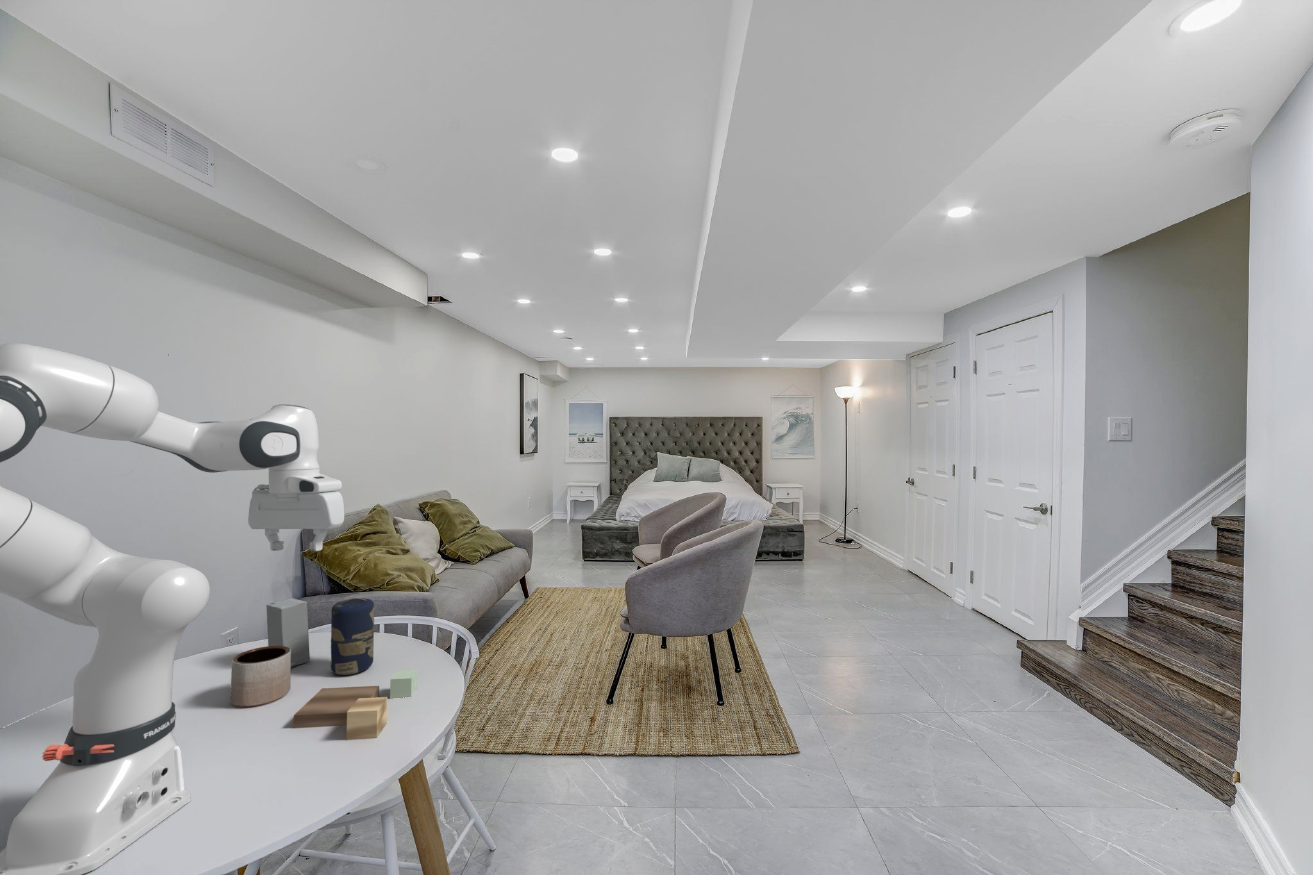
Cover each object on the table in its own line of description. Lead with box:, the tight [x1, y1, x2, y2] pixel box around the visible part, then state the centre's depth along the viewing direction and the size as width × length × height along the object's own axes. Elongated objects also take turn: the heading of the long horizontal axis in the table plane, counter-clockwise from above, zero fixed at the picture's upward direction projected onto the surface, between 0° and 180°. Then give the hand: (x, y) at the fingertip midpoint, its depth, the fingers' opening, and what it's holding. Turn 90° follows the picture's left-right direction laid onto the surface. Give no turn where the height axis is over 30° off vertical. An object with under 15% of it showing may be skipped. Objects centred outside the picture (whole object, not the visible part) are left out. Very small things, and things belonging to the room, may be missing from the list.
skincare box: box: [265, 597, 311, 668], centre depth 139 cm, size 8×7×16 cm
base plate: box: [293, 685, 380, 729], centre depth 115 cm, size 12×12×2 cm
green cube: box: [389, 669, 418, 700], centre depth 123 cm, size 4×4×4 cm
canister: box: [330, 597, 375, 676], centre depth 136 cm, size 10×10×18 cm
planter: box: [229, 645, 292, 708], centre depth 121 cm, size 11×11×10 cm
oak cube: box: [346, 696, 388, 741], centre depth 107 cm, size 6×6×6 cm
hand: (296, 550), depth 111 cm, fingers open, 8 cm apart
